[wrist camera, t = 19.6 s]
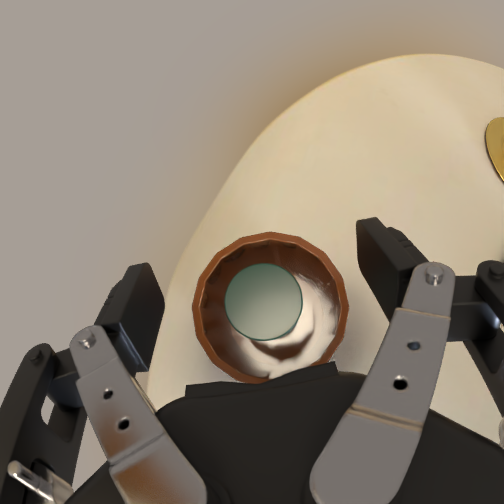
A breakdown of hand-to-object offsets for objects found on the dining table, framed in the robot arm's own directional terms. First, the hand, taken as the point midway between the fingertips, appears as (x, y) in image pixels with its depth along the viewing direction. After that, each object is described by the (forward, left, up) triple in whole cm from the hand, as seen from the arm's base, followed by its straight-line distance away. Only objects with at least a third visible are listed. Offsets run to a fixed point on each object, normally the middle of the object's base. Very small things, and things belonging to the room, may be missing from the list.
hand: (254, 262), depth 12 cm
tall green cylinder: (0, -1, -13) cm, 13 cm away
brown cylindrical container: (0, -1, -14) cm, 14 cm away
